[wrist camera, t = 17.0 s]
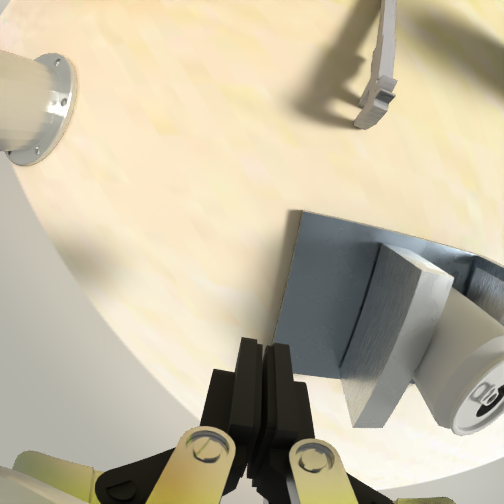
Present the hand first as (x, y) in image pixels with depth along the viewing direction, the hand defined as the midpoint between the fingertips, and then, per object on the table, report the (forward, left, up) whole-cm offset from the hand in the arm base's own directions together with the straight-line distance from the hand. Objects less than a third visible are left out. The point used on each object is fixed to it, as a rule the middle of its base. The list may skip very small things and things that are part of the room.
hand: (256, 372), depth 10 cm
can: (+15, -2, -13) cm, 20 cm away
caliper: (+6, +22, -14) cm, 27 cm away
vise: (+11, -2, -14) cm, 18 cm away
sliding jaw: (+9, -2, -12) cm, 16 cm away
